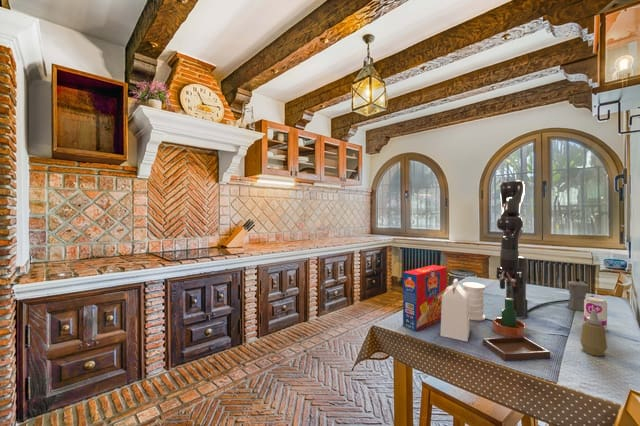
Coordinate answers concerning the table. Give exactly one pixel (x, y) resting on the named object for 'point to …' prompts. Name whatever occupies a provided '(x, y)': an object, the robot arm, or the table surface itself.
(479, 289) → the decorative container
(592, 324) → the squeeze bottle
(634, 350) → the table surface
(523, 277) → the robot arm
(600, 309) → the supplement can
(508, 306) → the bottle
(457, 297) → the milk
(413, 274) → the pasta box
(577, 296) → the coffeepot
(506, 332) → the bowl
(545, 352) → the tray
